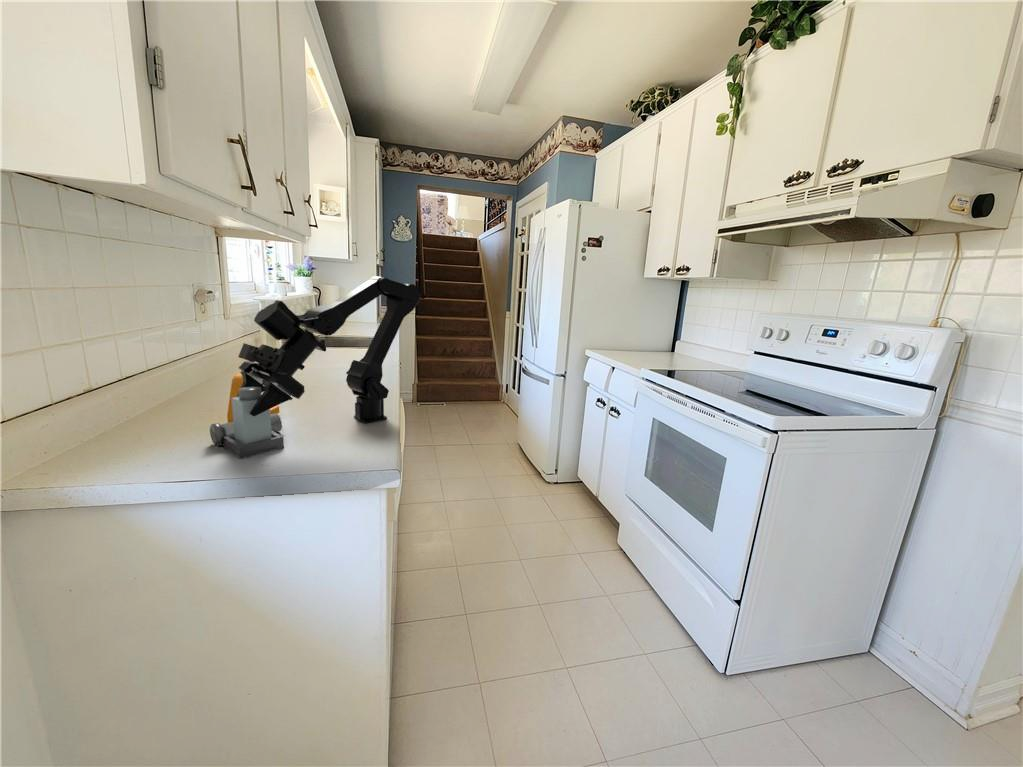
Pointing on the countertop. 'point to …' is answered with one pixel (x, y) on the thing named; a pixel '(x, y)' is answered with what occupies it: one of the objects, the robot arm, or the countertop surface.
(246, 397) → the grey capped bottle
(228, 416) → the bracket
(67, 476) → the countertop surface
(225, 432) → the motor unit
